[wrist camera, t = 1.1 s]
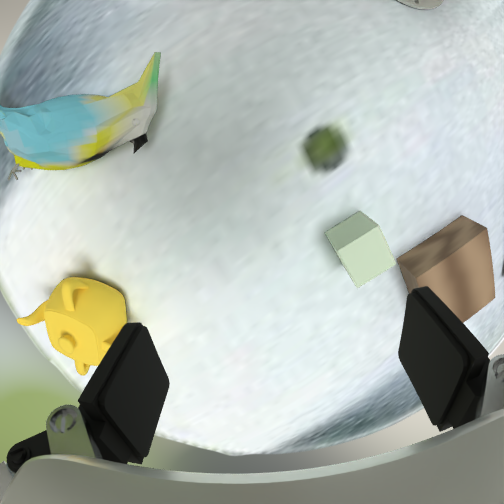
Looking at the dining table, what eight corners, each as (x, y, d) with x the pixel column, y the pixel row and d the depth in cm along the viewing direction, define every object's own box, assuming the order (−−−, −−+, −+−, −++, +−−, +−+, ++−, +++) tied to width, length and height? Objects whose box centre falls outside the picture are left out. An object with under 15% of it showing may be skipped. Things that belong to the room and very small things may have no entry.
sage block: (359, 210, 32) (378, 225, 26) (376, 244, 33) (396, 264, 28) (324, 232, 33) (336, 251, 27) (343, 265, 34) (357, 288, 29)
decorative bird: (161, 184, 31) (127, 200, 23) (-2, 174, 30) (-43, 186, 22) (177, 67, 26) (149, 43, 18) (5, 89, 25) (-36, 89, 17)
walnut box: (460, 214, 32) (486, 227, 26) (474, 279, 35) (495, 297, 29) (395, 257, 34) (416, 278, 29) (416, 319, 38) (433, 342, 32)
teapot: (97, 349, 41) (71, 390, 32) (50, 288, 37) (13, 322, 28) (153, 323, 38) (128, 372, 29) (98, 249, 35) (56, 284, 25)
